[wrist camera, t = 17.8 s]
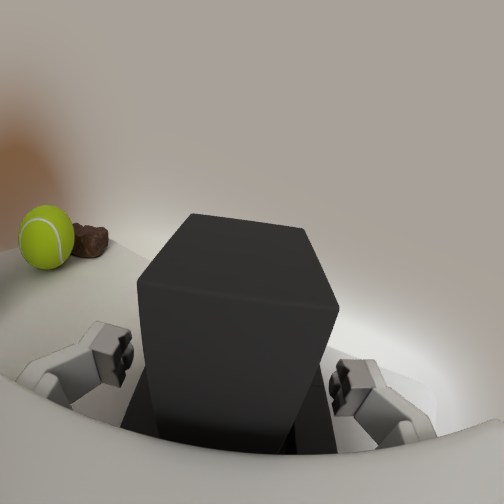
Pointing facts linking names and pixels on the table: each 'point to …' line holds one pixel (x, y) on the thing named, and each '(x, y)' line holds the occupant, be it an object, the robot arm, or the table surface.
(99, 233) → the stone
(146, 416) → the base tray
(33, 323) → the table surface
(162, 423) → the black rectangular block
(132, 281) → the table surface
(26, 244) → the tennis ball
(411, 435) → the robot arm
